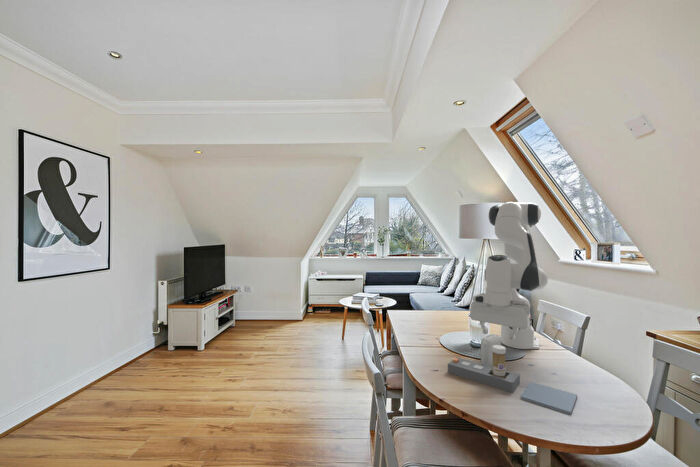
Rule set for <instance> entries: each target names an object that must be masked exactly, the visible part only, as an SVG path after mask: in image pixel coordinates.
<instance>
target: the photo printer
mask: <svg viewBox="0 0 700 467" xmlns="http://www.w3.org/2000/svg"><path fill="white" fill-rule="evenodd" d="M500 337H501V336H499V334H494V333H490V334H486V335H485V336H483V337H482V338H481V340H480V363H481V364H484V365H488V366H492V359H493V352H492V346H493V345H500V346H502V342H501V338H500Z"/></svg>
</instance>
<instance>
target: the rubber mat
mask: <svg viewBox="0 0 700 467" xmlns="http://www.w3.org/2000/svg"><path fill="white" fill-rule="evenodd" d="M519 398H520V399H521V400H524V401H527V402H529V403H533V404H536V405H540V406H543V407H545V408H546V407H547V408H549V409H552V410H555V411H558V412H561V413H565V414H568V415H571V416H572V412H573V410H574V407H575V404H576V401H577V398H578V394H576V393H572V392H569V391H566V390H562V389H559V388H554V387H552V386H551V387H550V386H547V385H544V384H540V383H537V382H533V381H530V382H529V383H528V385H527V386H526V388H525V389H524V390H523V392H522V393H521V395H520V397H519Z"/></svg>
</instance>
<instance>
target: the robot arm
mask: <svg viewBox="0 0 700 467" xmlns="http://www.w3.org/2000/svg"><path fill="white" fill-rule="evenodd" d="M541 216H542V212H541V209H540V207H539V205H538V204H537V203H536V202H535V203H534V202H527V203H526V202H515V201H514V202H513V201H508V202H505V203H502V204H496V205H492V207H490V208H489V212H488V215H487V217H488V220H489V223H490V224H491V226H494V234H495V236H496V238H497V239H498V240H499V241H501V242H502V243H504V254H505V255H504V254H495V255H490V256H488V258H487V260H486V267H485V269H484V271H485V272H484V280H485V281H486V287H485V292H484V293H483V292H482V293H479V294H476V295H473V296H472V302H471V305H470V311H469V317H470V319H471V321H472V320H473V321H477V322H479V326H480V327H481V329H482V334H484V335H489V328H487V327H486V325H485V324H486V323H487V324H494V325H500V336H499V337H500V338H501V344H503V345H504V346H507V347H509V348H513V349H520V350H539V349H540V339H539V338H538V337H535V329H534V327H533V326H532V316H531V302H530V301H529V300H528V299H527V298H526V297H525V296H523V295H521V294H520V293H519V292H518V291H517V289H519V290H523V291H527V292H528V291H529V292H532V291H537V290H543V289H544V288H545V287H546V286H547V285H548V282H549V280H548V278H549V277H548V275H547V272H546V271H545V270H543V269H542V268H541V267H539V266H538V264H537V263H538V262H537V255H536V252H535V250H536V249H535V246H534V242H533V241H534V240H533V238H532V234H531V233H530V231H529V228H532V227H533V226H536V225H537V224H538V223H539V221H540V220H541ZM511 260H512V261H514V262H515V263H512V262H511Z"/></svg>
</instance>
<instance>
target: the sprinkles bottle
mask: <svg viewBox="0 0 700 467" xmlns="http://www.w3.org/2000/svg"><path fill="white" fill-rule="evenodd" d="M506 350H507V349H506V347H505V346H503V345H501V346H500V345H493V346H492V352H493V359H492V373H493V375H494V376H498V377H501V378H505V370H506Z"/></svg>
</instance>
